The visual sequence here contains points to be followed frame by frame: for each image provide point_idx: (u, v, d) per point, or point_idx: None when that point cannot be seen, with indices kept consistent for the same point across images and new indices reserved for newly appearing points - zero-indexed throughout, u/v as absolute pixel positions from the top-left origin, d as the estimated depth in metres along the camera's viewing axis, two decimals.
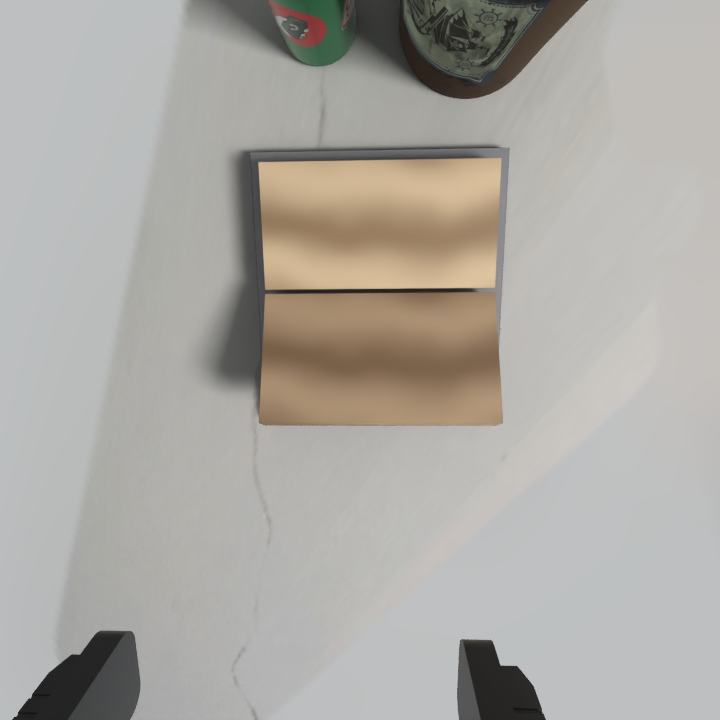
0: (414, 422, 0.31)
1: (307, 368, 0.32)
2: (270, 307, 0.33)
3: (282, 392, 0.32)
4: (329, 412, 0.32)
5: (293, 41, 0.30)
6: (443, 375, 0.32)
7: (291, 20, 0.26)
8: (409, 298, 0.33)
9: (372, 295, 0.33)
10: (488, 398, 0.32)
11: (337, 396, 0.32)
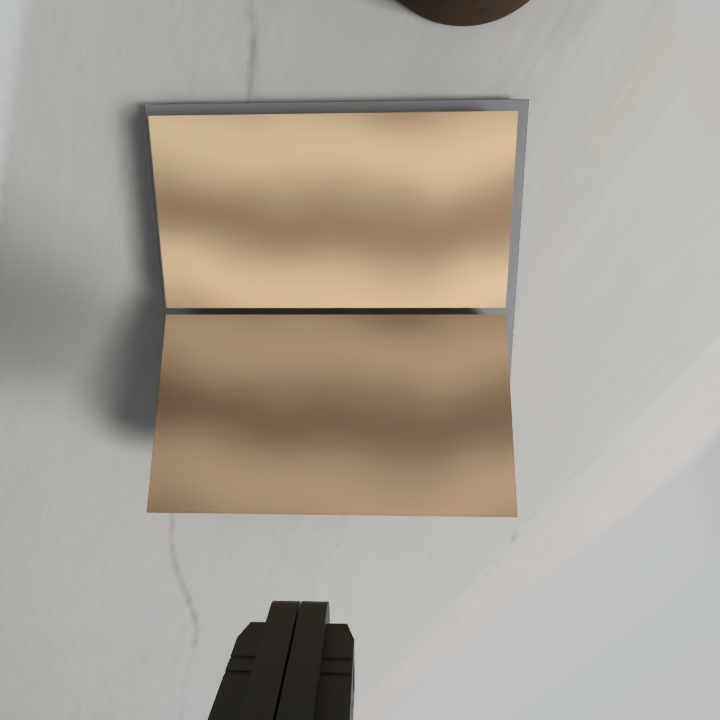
0: (382, 513, 0.21)
1: (224, 428, 0.22)
2: (173, 334, 0.23)
3: (184, 465, 0.21)
4: (254, 497, 0.21)
5: None
6: (427, 440, 0.21)
7: None
8: (378, 322, 0.22)
9: (324, 318, 0.22)
10: (494, 477, 0.21)
11: (267, 471, 0.21)
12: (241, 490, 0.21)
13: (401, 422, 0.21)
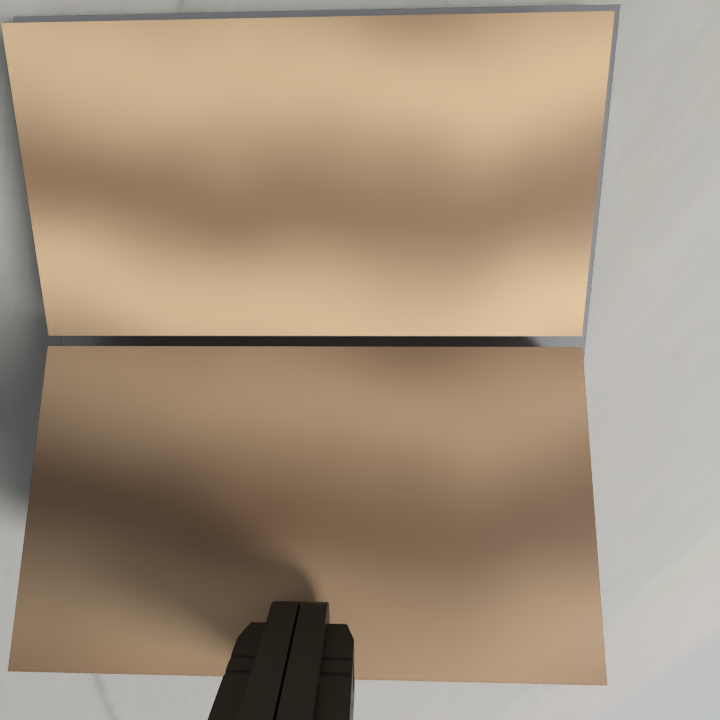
0: (387, 676, 0.13)
1: (134, 532, 0.14)
2: (57, 378, 0.14)
3: (69, 592, 0.13)
4: (180, 647, 0.13)
5: None
6: (458, 554, 0.13)
7: None
8: (380, 360, 0.14)
9: (294, 352, 0.14)
10: (568, 617, 0.13)
11: (201, 603, 0.13)
12: (160, 635, 0.13)
13: (417, 523, 0.13)
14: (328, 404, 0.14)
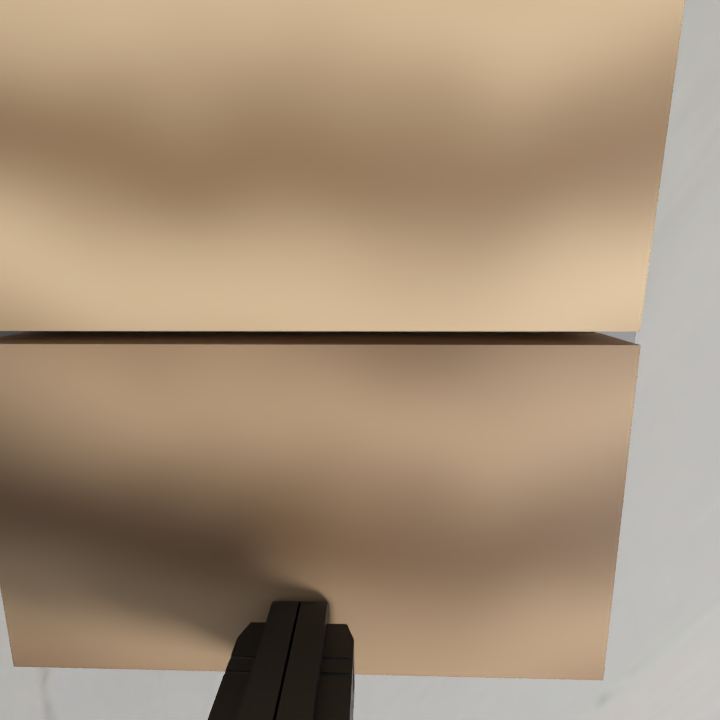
0: (386, 669, 0.13)
1: (113, 548, 0.12)
2: None
3: (57, 602, 0.13)
4: (179, 648, 0.13)
5: None
6: (464, 569, 0.12)
7: None
8: (382, 362, 0.11)
9: (272, 351, 0.11)
10: (575, 626, 0.12)
11: (195, 613, 0.13)
12: (157, 639, 0.13)
13: (421, 541, 0.12)
14: (318, 415, 0.12)
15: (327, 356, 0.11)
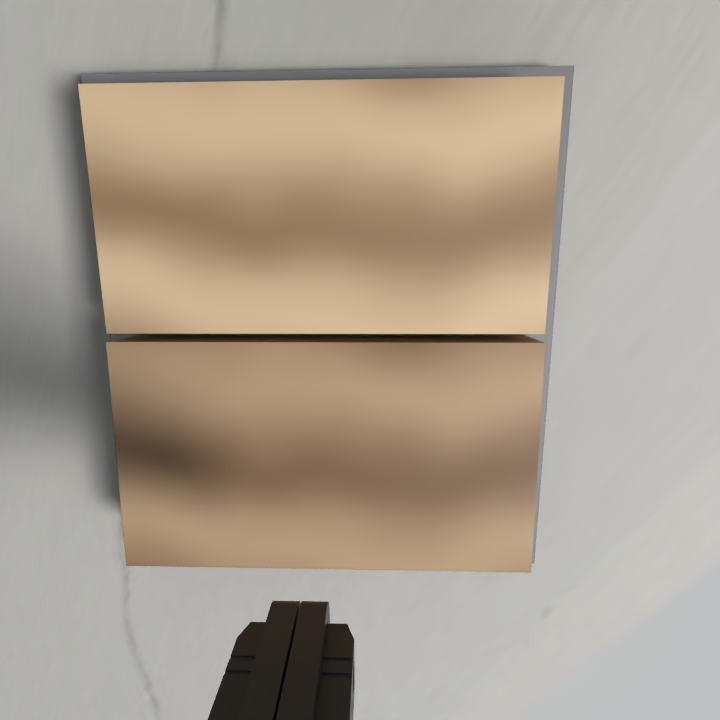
0: (383, 567, 0.19)
1: (198, 480, 0.18)
2: (119, 368, 0.18)
3: (159, 519, 0.19)
4: (241, 551, 0.19)
5: None
6: (435, 494, 0.18)
7: None
8: (380, 353, 0.17)
9: (309, 347, 0.17)
10: (510, 533, 0.18)
11: (253, 525, 0.19)
12: (226, 544, 0.19)
13: (406, 474, 0.18)
14: (338, 389, 0.18)
15: (344, 350, 0.17)
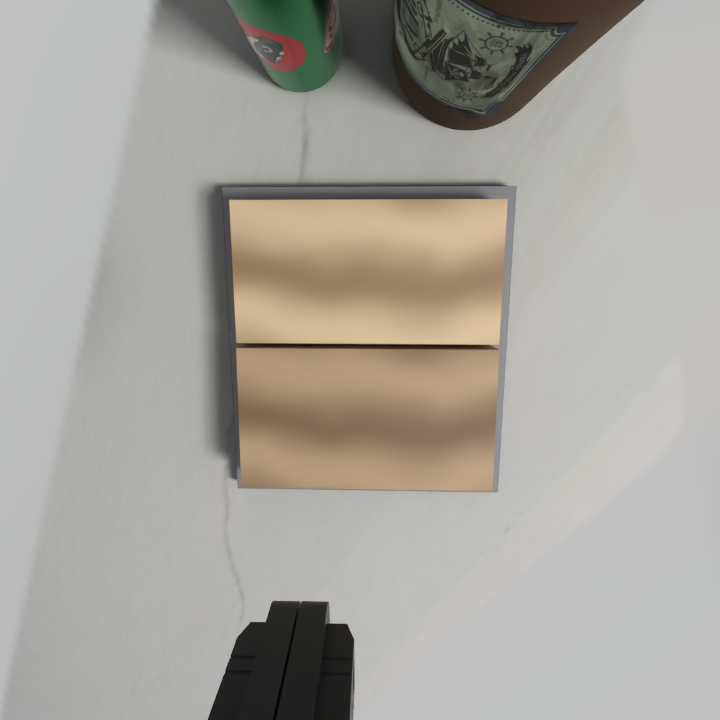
0: (401, 488, 0.31)
1: (288, 433, 0.30)
2: (243, 364, 0.30)
3: (263, 457, 0.30)
4: (313, 478, 0.31)
5: (269, 64, 0.26)
6: (433, 441, 0.30)
7: (263, 41, 0.23)
8: (400, 355, 0.29)
9: (358, 351, 0.29)
10: (479, 466, 0.30)
11: (321, 461, 0.30)
12: (304, 473, 0.30)
13: (416, 429, 0.30)
14: (375, 377, 0.29)
15: (379, 353, 0.29)
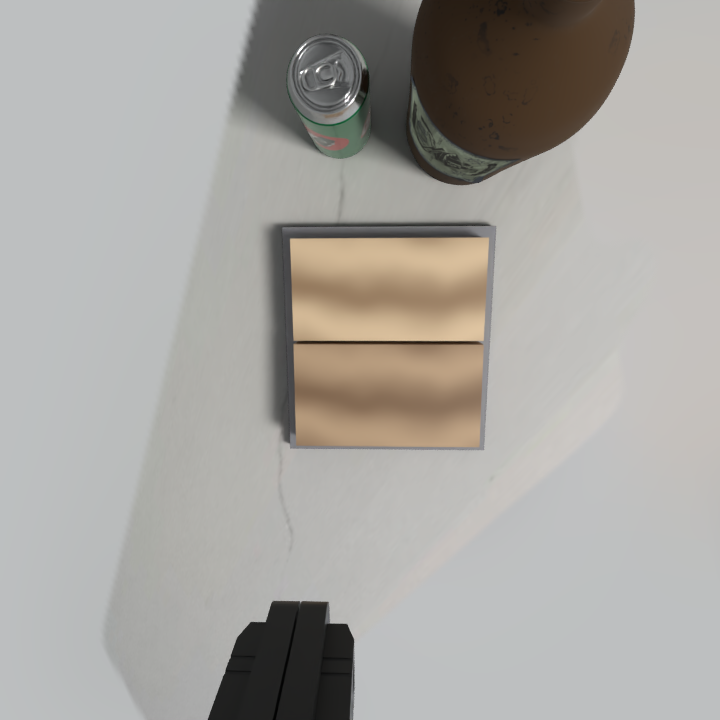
0: (413, 445, 0.42)
1: (331, 405, 0.41)
2: (298, 355, 0.41)
3: (312, 423, 0.42)
4: (349, 438, 0.42)
5: (321, 146, 0.37)
6: (436, 411, 0.41)
7: (321, 138, 0.33)
8: (412, 349, 0.40)
9: (382, 346, 0.40)
10: (470, 429, 0.41)
11: (355, 426, 0.42)
12: (342, 435, 0.42)
13: (423, 402, 0.41)
14: (394, 364, 0.41)
15: (397, 347, 0.40)
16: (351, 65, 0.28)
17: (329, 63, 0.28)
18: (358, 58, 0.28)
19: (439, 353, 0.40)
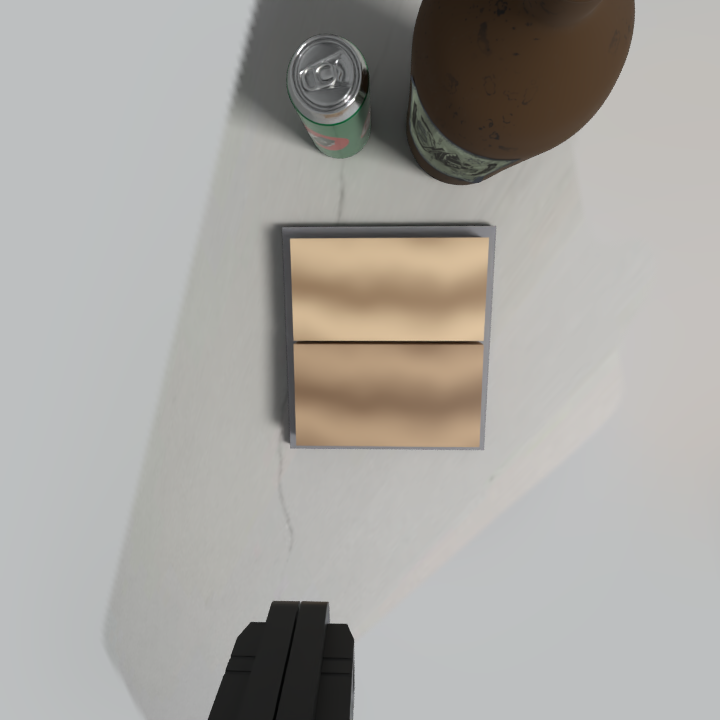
0: (413, 445, 0.42)
1: (331, 405, 0.41)
2: (298, 355, 0.41)
3: (312, 423, 0.42)
4: (349, 438, 0.42)
5: (321, 146, 0.37)
6: (436, 411, 0.41)
7: (321, 138, 0.34)
8: (412, 349, 0.40)
9: (382, 346, 0.40)
10: (470, 429, 0.41)
11: (355, 426, 0.42)
12: (342, 435, 0.42)
13: (423, 402, 0.41)
14: (394, 364, 0.41)
15: (397, 347, 0.40)
16: (351, 65, 0.28)
17: (328, 63, 0.28)
18: (358, 58, 0.28)
19: (439, 353, 0.40)
